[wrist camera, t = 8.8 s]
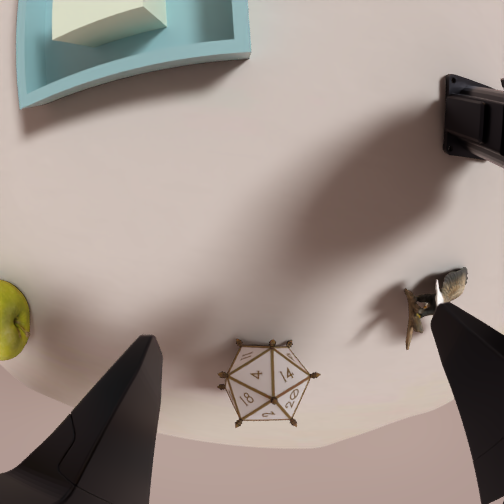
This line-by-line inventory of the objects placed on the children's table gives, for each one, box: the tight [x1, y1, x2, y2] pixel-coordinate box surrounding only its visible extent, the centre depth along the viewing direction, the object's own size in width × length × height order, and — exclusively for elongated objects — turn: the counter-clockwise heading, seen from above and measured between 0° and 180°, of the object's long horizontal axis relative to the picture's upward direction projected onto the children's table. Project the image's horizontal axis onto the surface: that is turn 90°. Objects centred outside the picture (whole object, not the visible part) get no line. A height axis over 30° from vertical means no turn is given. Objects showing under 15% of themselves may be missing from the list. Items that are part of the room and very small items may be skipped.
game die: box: [218, 339, 321, 428], centre depth 24 cm, size 9×8×10 cm
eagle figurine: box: [404, 267, 468, 350], centre depth 23 cm, size 8×7×9 cm
